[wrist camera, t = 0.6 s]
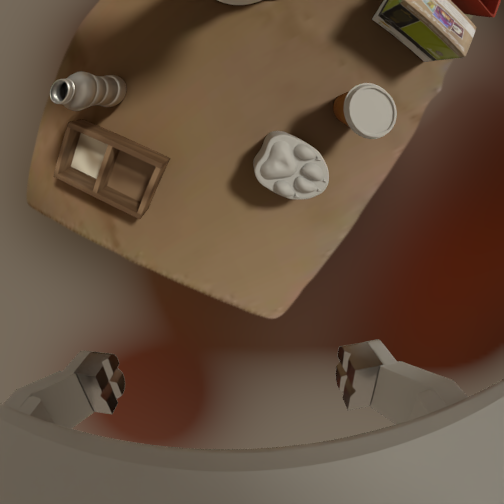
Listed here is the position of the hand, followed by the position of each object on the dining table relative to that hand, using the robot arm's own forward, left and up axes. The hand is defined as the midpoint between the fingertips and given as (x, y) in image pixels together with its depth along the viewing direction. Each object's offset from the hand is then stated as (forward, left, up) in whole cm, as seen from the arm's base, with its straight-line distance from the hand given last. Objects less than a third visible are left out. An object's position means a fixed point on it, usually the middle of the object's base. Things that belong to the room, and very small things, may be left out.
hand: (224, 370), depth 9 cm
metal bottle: (0, -28, -49) cm, 56 cm away
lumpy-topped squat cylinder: (-3, +10, -49) cm, 50 cm away
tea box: (-44, +15, -49) cm, 68 cm away
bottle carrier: (+14, -22, -48) cm, 55 cm away
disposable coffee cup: (-18, +14, -49) cm, 54 cm away
